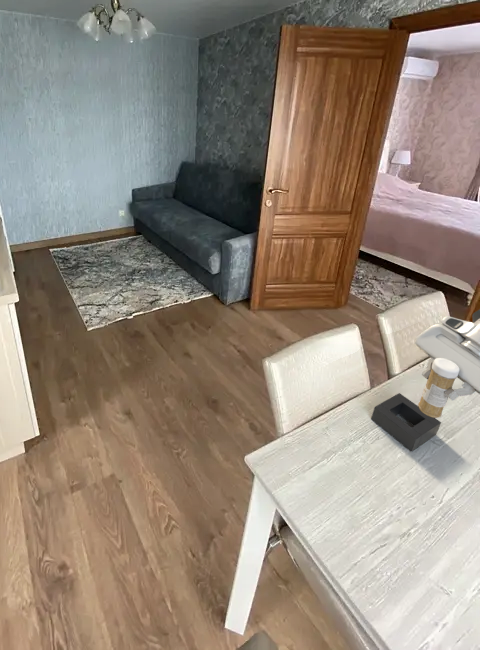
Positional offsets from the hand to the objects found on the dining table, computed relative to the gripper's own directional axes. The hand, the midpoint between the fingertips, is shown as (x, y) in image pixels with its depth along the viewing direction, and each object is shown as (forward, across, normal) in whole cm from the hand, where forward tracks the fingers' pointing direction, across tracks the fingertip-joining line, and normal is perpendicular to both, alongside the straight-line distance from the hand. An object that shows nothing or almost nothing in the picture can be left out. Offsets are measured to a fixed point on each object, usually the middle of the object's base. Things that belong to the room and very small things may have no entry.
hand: (436, 386), depth 76 cm
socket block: (+12, +8, -20) cm, 25 cm away
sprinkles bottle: (+5, 0, -6) cm, 7 cm away
